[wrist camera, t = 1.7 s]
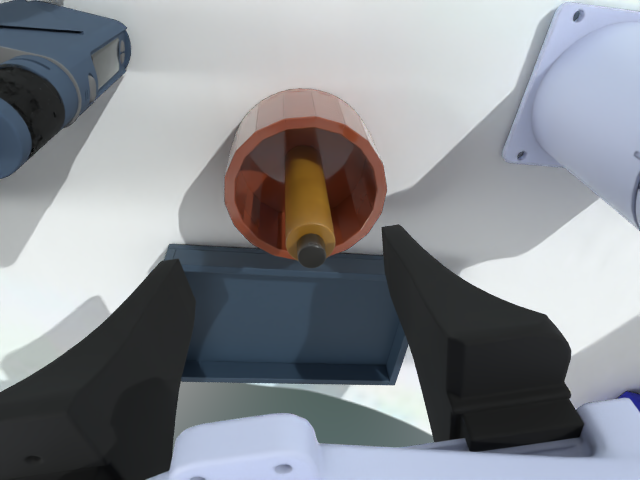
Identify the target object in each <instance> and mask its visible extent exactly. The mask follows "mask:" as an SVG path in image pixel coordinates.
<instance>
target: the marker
mask: <svg viewBox="0 0 640 480" xmlns="http://www.w3.org/2000/svg"><path fill="white" fill-rule="evenodd" d="M285 231H286V248H287V251H288V253H289V254H290V255H291V256H292V257H293V258H294V259H296V260H297V261H299V263H300V264H301V265H302V266H304V267H306V268H317V267H319V266H321V265H322V264H323V263H324V262H325V260H326V258H327V257H328V256H329V255H330V254H331V253H332V252H333V250H334V248H335V243H336V241H335V234H334V229H333V223H332V217H331V211H330V206H329V200H328V194H327V189H326V183H325V177H324V171H323V166H322V160H321V156H320V154H319V153H318V152H317V151H316V150H315V149H314V148H312V147H310V146H305V145H302V146H297V147H294V148H293V149H291V150H290V151H289V152H288V153H287V155H286V157H285Z"/></svg>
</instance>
